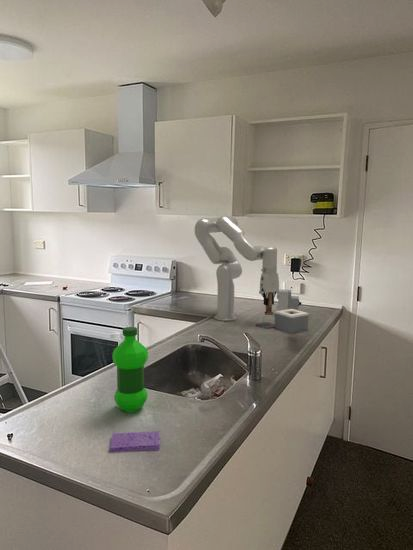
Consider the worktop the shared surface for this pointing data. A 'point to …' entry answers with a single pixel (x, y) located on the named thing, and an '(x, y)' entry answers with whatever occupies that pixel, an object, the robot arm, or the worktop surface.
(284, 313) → the square socket block
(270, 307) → the wooden pepper mill
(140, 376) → the plastic bottle
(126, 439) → the sponges
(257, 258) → the robot arm
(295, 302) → the circuit breaker
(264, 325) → the rubber mat
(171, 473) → the worktop surface
